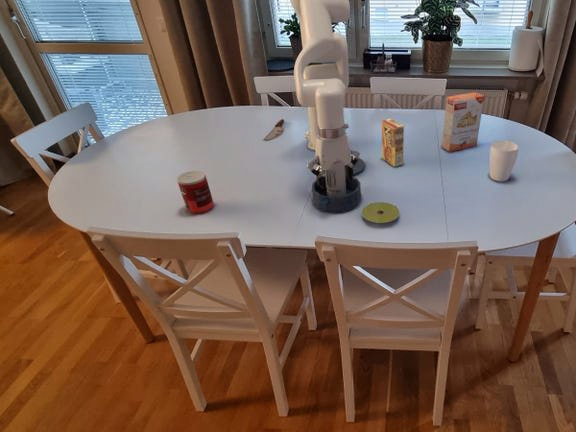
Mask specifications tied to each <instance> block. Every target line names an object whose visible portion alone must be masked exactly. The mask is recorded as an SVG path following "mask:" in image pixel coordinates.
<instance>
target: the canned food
mask: <svg viewBox="0 0 576 432" xmlns="http://www.w3.org/2000/svg"><path fill="white" fill-rule="evenodd" d="M176 182H177V184H178V185H177V186H178V188H179V190H180V193H181V197H182V199H183V202H184V205H185V208H186V210H187V211H188V213H190V214H194V215H201V214H204V213H207V212H209V211H211V210H212V209H213V208H214V200H213V196H212V193H211V189H210V186H209V181H208V179H207V175H206V174H205V172H204V171H201V170H191V171H186V172H184V173H181V174H179V175H178V176H177V177H176Z"/></svg>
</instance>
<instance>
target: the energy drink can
mask: <svg viewBox="0 0 576 432" xmlns="http://www.w3.org/2000/svg"><path fill="white" fill-rule="evenodd" d="M336 160H337V161H335V162H334V163H333V164H332V165H331V169H330V170H325V173H324V174H325V175H324V176H326V186H327V196H333V197H336V196H343V195H346V182H345V166H344V162H343V161H341V160H338V159H336Z"/></svg>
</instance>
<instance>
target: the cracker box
mask: <svg viewBox="0 0 576 432" xmlns="http://www.w3.org/2000/svg"><path fill="white" fill-rule="evenodd" d="M484 101H485V95H483V94H481V93H479V92H477V91H474V92H468V93H462V94H456V95H451V96H450V95H449V96H446V101H445V110H444V121H443V130H442V139H441V148H443V149H444V150H445V151H447V152H448V153H450V152H455V151H459V150H464V149H468V148H473V147H477V144H478V140H479V132H480V125H481V119H482V113H483V108H484Z"/></svg>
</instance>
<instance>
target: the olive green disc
mask: <svg viewBox="0 0 576 432" xmlns="http://www.w3.org/2000/svg"><path fill="white" fill-rule="evenodd" d="M361 215H362V217H363V218H364V219H365V220H367V221H369V222H372V223H376V224H384V223H389V222H392V221H394V220H396V219H397V218H398V217H399V215H400V210H399V208H398V207H397V206H396V205H394V204H393V203H389V202H383V201H378V202H371V203H369V204H367V205H365V206H364V207H363V208H362V210H361Z"/></svg>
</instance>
